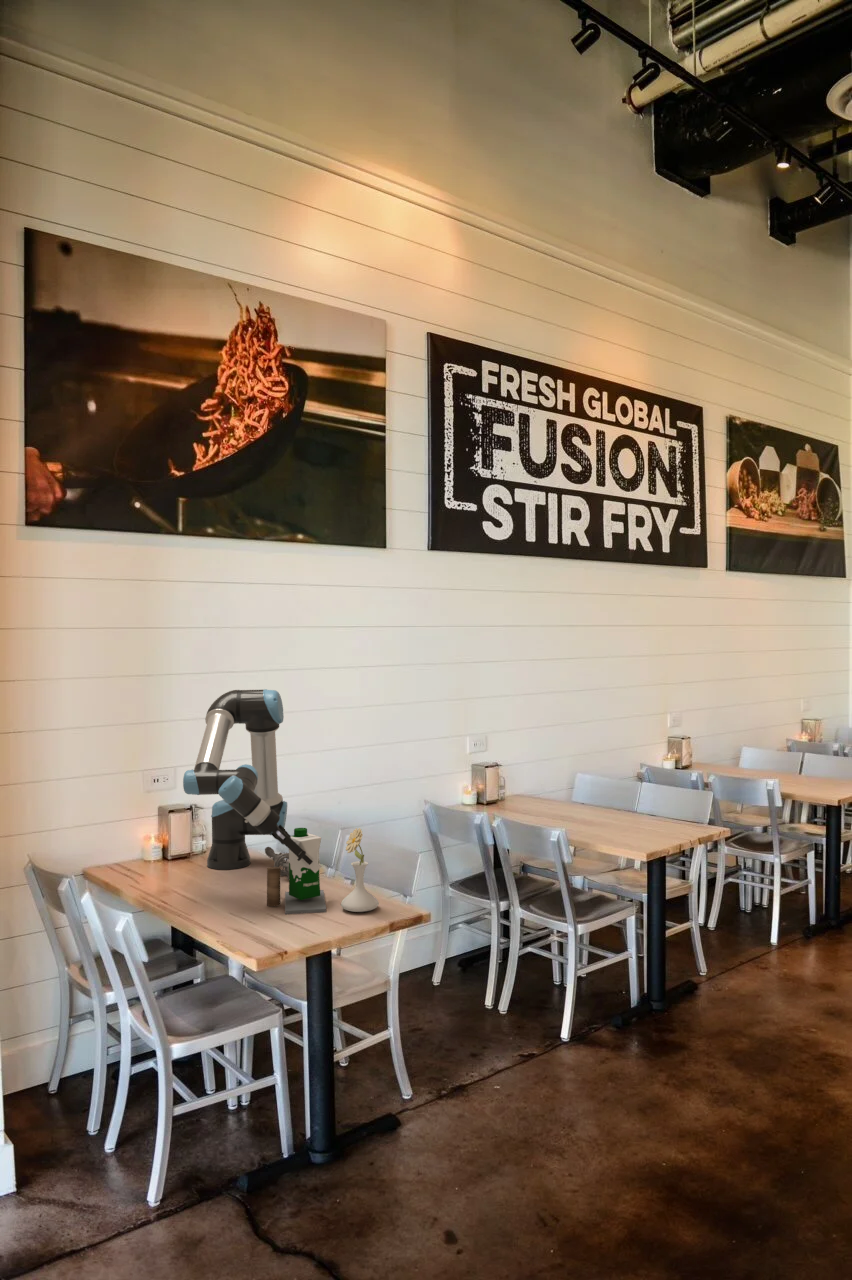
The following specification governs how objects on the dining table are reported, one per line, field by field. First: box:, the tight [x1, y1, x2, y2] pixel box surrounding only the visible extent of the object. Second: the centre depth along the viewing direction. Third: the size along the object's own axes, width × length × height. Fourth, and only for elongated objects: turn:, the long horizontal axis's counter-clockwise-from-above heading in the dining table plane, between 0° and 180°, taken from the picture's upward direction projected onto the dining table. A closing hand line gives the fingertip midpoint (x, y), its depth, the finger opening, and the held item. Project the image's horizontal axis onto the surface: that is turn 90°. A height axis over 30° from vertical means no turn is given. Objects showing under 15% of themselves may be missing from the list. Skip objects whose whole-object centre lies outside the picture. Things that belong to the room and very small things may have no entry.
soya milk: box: [288, 827, 322, 900], centre depth 275 cm, size 9×9×20 cm
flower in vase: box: [340, 827, 380, 913], centre depth 268 cm, size 13×11×25 cm
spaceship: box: [264, 846, 289, 881], centre depth 307 cm, size 8×35×8 cm
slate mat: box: [284, 889, 327, 915], centre depth 275 cm, size 20×12×1 cm, turn 9°
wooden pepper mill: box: [266, 866, 282, 908], centre depth 274 cm, size 4×4×11 cm
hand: (314, 865), depth 276 cm, fingers open, 9 cm apart
